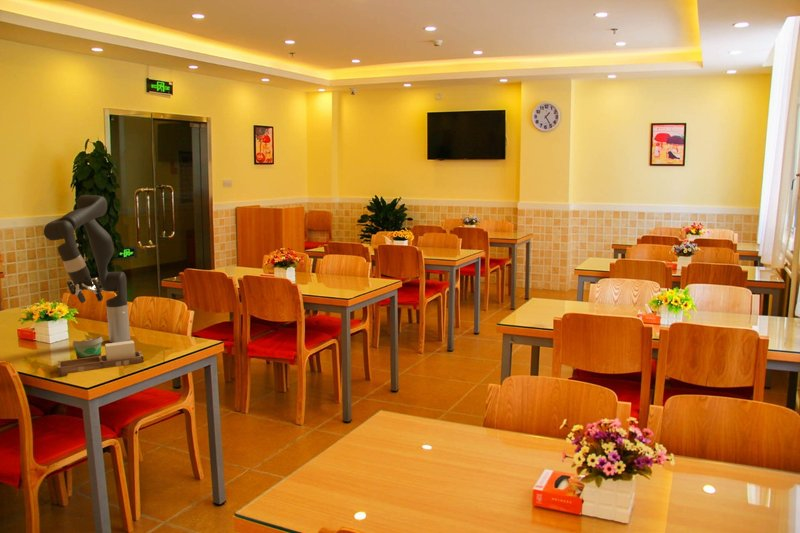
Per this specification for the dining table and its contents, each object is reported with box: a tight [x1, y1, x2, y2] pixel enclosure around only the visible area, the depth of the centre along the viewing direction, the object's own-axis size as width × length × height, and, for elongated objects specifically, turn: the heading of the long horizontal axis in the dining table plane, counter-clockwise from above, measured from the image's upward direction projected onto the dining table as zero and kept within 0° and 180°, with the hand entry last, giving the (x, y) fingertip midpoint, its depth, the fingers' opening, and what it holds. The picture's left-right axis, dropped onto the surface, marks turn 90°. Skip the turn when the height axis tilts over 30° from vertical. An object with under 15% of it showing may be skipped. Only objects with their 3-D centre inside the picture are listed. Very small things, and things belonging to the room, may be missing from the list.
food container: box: [72, 335, 104, 359], centre depth 292 cm, size 12×6×10 cm, turn 137°
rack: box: [57, 350, 145, 377], centre depth 284 cm, size 11×32×4 cm, turn 117°
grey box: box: [104, 340, 136, 361], centre depth 287 cm, size 5×11×8 cm, turn 117°
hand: (92, 301), depth 284 cm, fingers open, 8 cm apart
